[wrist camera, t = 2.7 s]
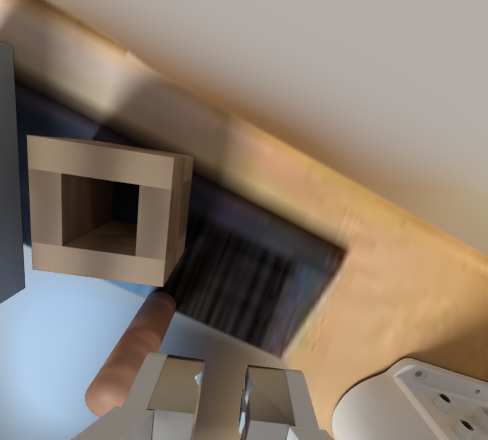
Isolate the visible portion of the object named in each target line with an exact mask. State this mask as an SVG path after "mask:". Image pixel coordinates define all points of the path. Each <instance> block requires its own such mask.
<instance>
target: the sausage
mask: <svg viewBox="0 0 488 440" xmlns="http://www.w3.org/2000/svg"><path fill="white" fill-rule="evenodd" d="M175 310H176V302H175V300H174V299H173V297H172V296H171V295H169V294H167V293H165V292H154V293H152V294H150V295H149V296H148V297H147V299H146V300H145V302H144V303H143V305H142V307H141V308H140V310H139V311H138V313H137V314H136V316H135V317H134V319H133V320H132V322H131V323H130V325H129V326H128V328H127V329H126V331H125V333H124V334H123V336H122V337H121V339H120V340H119V342H118V343H117V345H116V346H115V348H114V349H113V351H112V352H111V354H110V356H109V357H108V359H107V360H106V362H105V363H104V365H103V366H102V368H101V369H100V371H99V373H98V374H97V375H96V377H95V378H94V380H93V382H92V383H91V385H90V386H89V388H88V389H87V391H86V394H85V402H86V405H87V407H88V408H89V409H90V411H91V412H92V413H94V414H95V415H97V416H99V417H100V418H101V417H102V416H103V415H105V414H106V413H107V412H109V411H110V410H111V409H113V408H114V407H115V406H118V407H122V406H123V404H124V402H125V400H126V397H127V395H128V393H129V391H130V389H131V387H132V385H133V383H134V381H135V379H136V376H137V374H138V372H139V370H140V368H141V366H142V364H143V362H144V360H145V358H146V356H147V355H148V354H149V353H150V352H152V353H158V350H159V348H160V346H161V344H162V341H163V339H164V336H165V334H166V332H167V329H168V327H169V324H170V322H171V320H172V317H173V315H174V313H175Z"/></svg>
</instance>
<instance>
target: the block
mask: <svg viewBox="0 0 488 440" xmlns="http://www.w3.org/2000/svg"><path fill="white" fill-rule="evenodd" d="M27 150H28V173H29V196H30V219H31V241H32V264H33V269H34V270H41V271H48V272H55V273H63V274H70V275H78V276H85V277H92V278H100V279H107V280H115V281H122V282H130V283H137V284H145V285H152V286H160V287H163V286H164V284H165V282H166V281H167V279H168V277H169V276H170V274H171V272H172V271H173V269H174V267H175V265H176V264H177V262H178V260H179V259H180V257H181V255H182V254H183V252H184V248H185V239H186V229H187V220H188V210H189V200H190V191H191V181H192V171H193V162H194V156H191V155H185V154H178V153H172V152H165V151H159V150H152V149H146V148H140V147H133V146H127V145H120V144H114V143H107V142H101V141H95V140H85V139H72V138H60V137H47V136H34V135H27ZM113 181H117V182H124V183H130V184H137V185H140V188H139V205H138V223H137V224H136V223H129V222H122V221H115V220H112V207H113Z"/></svg>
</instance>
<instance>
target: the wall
mask: <svg viewBox="0 0 488 440" xmlns="http://www.w3.org/2000/svg"><path fill="white" fill-rule="evenodd" d="M24 288H25V274H24V255H23V235H22V216H21V197H20V177H19V158H18V139H17V120H16V100H15V81H14V62H13V47H12V46H10V45H8V44H5V43H3V42H1V41H0V303H2V302H3V301H5V300H7V299H8V298H10V297H12V296H13V295H15V294H16V293H18V292H19V291H21V290H23V289H24Z"/></svg>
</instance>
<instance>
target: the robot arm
mask: <svg viewBox="0 0 488 440" xmlns="http://www.w3.org/2000/svg"><path fill="white" fill-rule="evenodd" d="M203 368H204V360H202V359H195V358H189V357H182V356H175V355H165V354H158V353H152V352H150V353H149V354H148V355H147V356H146V358H145V360H144V362H143V364H142V366H141V368H140V370H139V372H138V374H137V376H136V379H135V381H134V383H133V385H132V387H131V389H130V391H129V393H128V395H127V397H126V400H125V402H124V404H123V406H122V407H118V406H115V407H114V408H113V409H111V410H110V411H109V412H107V413H106V414H105V415H103V416H102V417H101V418H99V419H98V420H97V421H95V422H94V423H93V424H91V425H90V426H89V427H88V428H86V429H85V430H83V431H82V432H81V433H79V434H78V435H77V436H75V437H74V438H73V439H71V440H192V438H193V431H194V427H195V421H196V416H197V410H198V403H199V397H200V390H201V381H202V375H203ZM332 431H333V434H334V437H335V439H336V440H488V383H487V382H484V381H481V380H478V379H475V378H471V377H468V376H465V375H462V374H459V373H456V372H453V371H449V370H446V369H443V368H440V367H437V366H434V365H431V364H427V363H424V362H421V361H418V360H415V359H411V358H405V359H402V360H400V361H399V362H397V363H396V364H394V365H393V366H392V367H391V368H390V369H388V370H387V371H386V372H384V373H382V374H380V375H378V376H375V377H372V378H370V379H367V380H365V381H363V382H361V383H360V384H358V385H356V386H355V387H353V388H352V389H351V390H350V391H349V392H347V393H346V394H345V395H344V397H343V398H342V399H341V400H340V402H339V403H338V405H337V407H336V409H335V411H334V414H333V419H332ZM239 433H240V435H241V438H240V440H334V439H333V438H332V437H331V436H330V435H329V434H328V433H327V431H326V430H320V429H319V426H318V423H317V419H316V416H315V412H314V409H313V405H312V401H311V398H310V394H309V391H308V387H307V384H306V380H305V377H304V374H303V372H302V371H299V370H290V369H277V368H269V367H260V366H251V365H247V368H246V373H245V388H244V389H243V390H242V395H241V402H240V411H239Z"/></svg>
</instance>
